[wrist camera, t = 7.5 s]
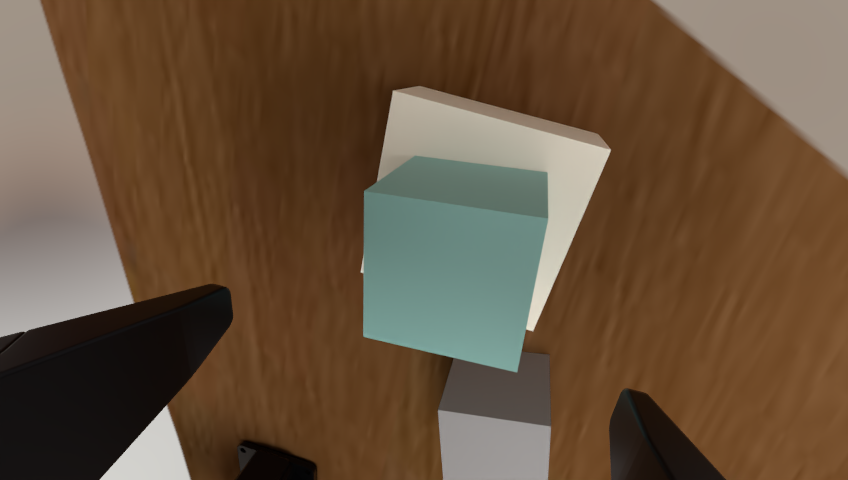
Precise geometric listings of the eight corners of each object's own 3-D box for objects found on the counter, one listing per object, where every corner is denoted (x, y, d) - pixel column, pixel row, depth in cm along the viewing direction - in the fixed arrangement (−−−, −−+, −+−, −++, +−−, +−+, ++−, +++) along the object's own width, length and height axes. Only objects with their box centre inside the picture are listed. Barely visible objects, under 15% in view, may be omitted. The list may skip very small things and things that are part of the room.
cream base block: (534, 286, 21) (533, 331, 17) (389, 238, 22) (360, 272, 19) (596, 132, 18) (611, 149, 14) (421, 85, 19) (393, 90, 15)
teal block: (524, 291, 17) (517, 372, 12) (408, 269, 18) (363, 336, 13) (547, 172, 15) (548, 218, 10) (414, 155, 16) (364, 191, 11)
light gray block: (545, 423, 24) (546, 505, 20) (461, 411, 25) (443, 485, 21) (549, 353, 22) (551, 426, 18) (457, 344, 23) (438, 409, 19)
